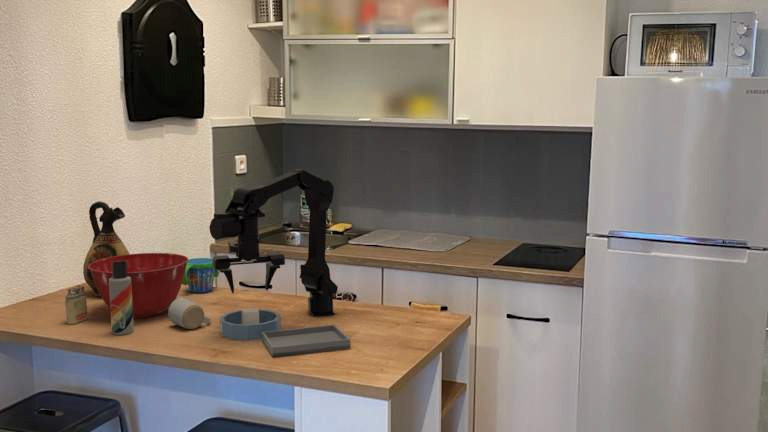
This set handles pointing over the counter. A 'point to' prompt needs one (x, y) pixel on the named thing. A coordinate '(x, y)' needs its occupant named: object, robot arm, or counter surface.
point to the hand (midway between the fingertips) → (249, 291)
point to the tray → (305, 340)
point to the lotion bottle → (121, 299)
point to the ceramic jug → (103, 239)
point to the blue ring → (238, 331)
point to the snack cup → (200, 275)
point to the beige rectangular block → (250, 316)
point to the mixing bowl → (144, 280)
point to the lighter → (76, 305)
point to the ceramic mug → (186, 314)
